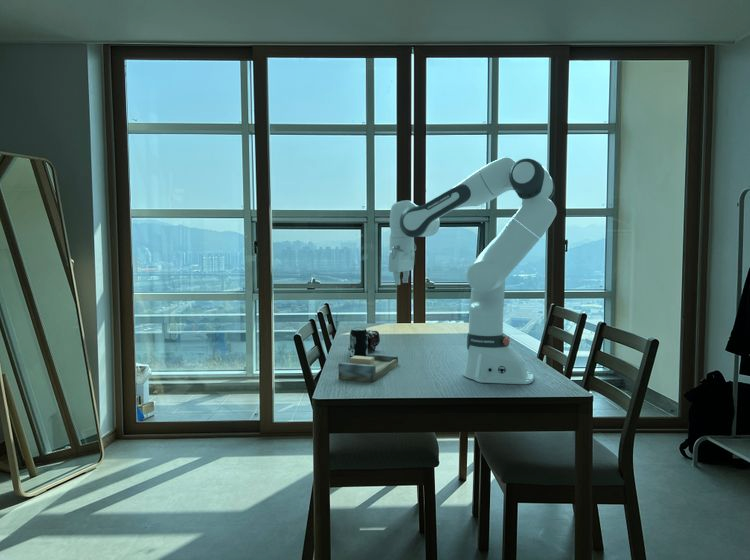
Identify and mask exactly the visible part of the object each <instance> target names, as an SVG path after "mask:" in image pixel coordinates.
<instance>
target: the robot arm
mask: <svg viewBox="0 0 750 560" xmlns="http://www.w3.org/2000/svg"><path fill="white" fill-rule="evenodd" d="M555 187H556V186H555V180H554V179H553V178H552V177H551V175H550V173H549V171H548V169H546V168H545V167H544V166H543V164H541V162H539V161H537V160H536V159H533V158H521V159H519V160H517V161H516V160H514V158H511V157H510V156H502V157H500V158H498V159H496V160H493V161H492V162H489V163H488V164H486V165H484V166H483V167H480V168H479V169H477V170H476V171H474V172H473V173H471V174H470V175H468V176H467V177H466V178H465V179H463V180H462V181H460V182H459V183H457V184H456V185H454V186H453V187H452V188H450V189H448V190H447V191H445V192H443V193H442V194H440V195H438V196H436V197H435V198H433V199H431V200H429V201H428V202H425V204H422V205H417V204H415V203H414V202H413V201H412V200H408V199H407V200H400V201H396V202H394V203H393V204H392V205H391V209H390V213H389V228H390V234H389V251H390V252H389V256H388V271H389V273H393V274H392V275H393V279H394V285H395V286H400V285H401V284H402V283H403V284H405V283H406V284H407V283H409V276H410V271H413V270H414V266H415V255H416V254H415V253H416V252H415V251H416V250H417V245H416V244H415V238H417V237H418V238H419V237H421V238H422V237H423V238H424V237H425V238H426V237H432V236H434V235H435V234H436V233H438V231H439V229H440V226H441V219H440V218H441V217H443V216H444V215H447V214H448V213H450V212H452V211H454V210H456V209H460V208H465V207H466V208H467V207H479V206H482V205H484V204H487V203H489V202H491V201H493V200H494V199H496V198H498V197H499V196H501V195H502V194H504V193H506V192H509V191H515V193H516V195H517V196H518V198H519V199H521V201H522V202H521V205H520V207H519V208H518V210H517V211H516V213H514V215H513V216H512V217H511V218H510V219H509V221H508V222H507V223H506V224H505V226H504V227H503V228H502V229H501V230H500V231H499V233H498V234H497V235H496V236H495V237H494V238H493V239H492V240H491V241H490V242H489V244H487V246H486V247H485V248H484V249H483V251H482V252H480V254H479V255H478V256H477V257H476V258H475V260H474V261H473V262H472V263H471V264H470V265H469V267H468V268H467V272H466V280H467V283H468V285H469V287H470V288H471V289H470V299H469V307H468V332H467V334H466V349H467V357H466V360H465V361H466V362H465V367H464V370H463V373H462V375H463V377H465V378H468V379H470V380H473V381H476V382H477V383H482V384H483V383H486V384H487V383H488V384H506V385H508V384H509V385H529V384H531V383H532V382H533V381H534V380H535V378H534V376H535V375H534V374H533V373H532V372H530V371H528V369H527V368H528V367H527V364H526V360H525V358H524V357H523V356H522V355H521V354H519V353H518V352H517V351H516V350H514V349H513V348H512V347H511V346H510V343H511V342H510V341H511V340H510V336H509V335H506V334H505V333H504V307H505V306H504V305H505V293H506V278H507V277H508V276H509V275H510V274H511V273H512V272H513V271H514V269H515V268H516V267H517V266H518V265H519V264H520V263H521V261H522V260H524V258H525V257H526V256H527V255H528V253H530V251H531V250H532V249H533V248H534V247H535V246H536V244H537V243H538V242H539V241H540V239H542V237H543V236H544V235H545V233H547V231H548V229H549V227H551V225H552V223H553V221H554V220H555V218H556V216H557V212H558V210H557V206H556V205H555V204H554V202H553V201H552V198H553V196H554V194H555V189H556V188H555ZM401 273H402V275H403V277H402V279H401V277H400V276H401ZM401 281H402V283H401Z"/></svg>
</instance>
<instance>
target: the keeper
mask: <svg viewBox="0 0 750 560" xmlns="http://www.w3.org/2000/svg"><path fill="white" fill-rule="evenodd" d="M349 363H355V364H367V365H374V357H366V356H353V357H351V358H350V357H349Z"/></svg>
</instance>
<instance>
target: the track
mask: <svg viewBox="0 0 750 560" xmlns="http://www.w3.org/2000/svg"><path fill="white" fill-rule="evenodd" d="M366 357H374V365H367V364H355V363H350V362H343V361H341V362H339V363H338V380H344V381H345V380H347V381H348V380H349V381H358V382H365V383H374V382H376V381H378V379H381V377H383V376H384V375H386V374H387V373H388V372H390V371H392V369H395V367H397V366H398V365H399V356H397V355H386V354H370V353H368V354H366Z"/></svg>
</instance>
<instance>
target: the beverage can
mask: <svg viewBox="0 0 750 560" xmlns="http://www.w3.org/2000/svg"><path fill="white" fill-rule="evenodd" d="M367 331H368V330H367V328H366V327H352V328H351V329H350V332H349V339H350V340H349V349H350V350H349V359H350V358H351V357H353V356H366V354H369V352H368V351H369V350H368V332H367Z"/></svg>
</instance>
